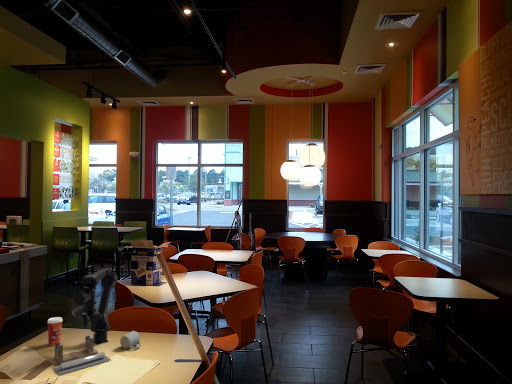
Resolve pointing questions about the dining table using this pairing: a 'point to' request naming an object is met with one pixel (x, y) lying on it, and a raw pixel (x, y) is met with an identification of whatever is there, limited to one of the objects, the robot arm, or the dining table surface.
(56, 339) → the paper cup
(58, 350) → the hook stand
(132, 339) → the ceramic mug
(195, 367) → the dining table surface
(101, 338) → the robot arm
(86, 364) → the grey flat tapered piece
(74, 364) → the steel rod
